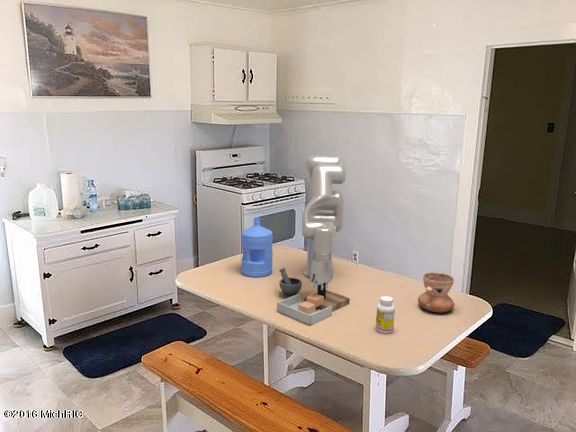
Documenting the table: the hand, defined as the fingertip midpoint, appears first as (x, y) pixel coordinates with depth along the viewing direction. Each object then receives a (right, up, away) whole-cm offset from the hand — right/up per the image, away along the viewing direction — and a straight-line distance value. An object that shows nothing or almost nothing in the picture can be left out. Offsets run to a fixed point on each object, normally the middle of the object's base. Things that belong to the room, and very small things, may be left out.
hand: (321, 297), depth 204 cm
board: (+2, -3, +3) cm, 5 cm away
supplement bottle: (+23, -9, -19) cm, 31 cm away
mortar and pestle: (-13, -1, +11) cm, 18 cm away
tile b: (-6, -5, -6) cm, 10 cm away
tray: (-7, -5, -6) cm, 11 cm away
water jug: (-30, +6, +40) cm, 50 cm away
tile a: (-3, -2, -3) cm, 4 cm away
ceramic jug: (+48, -5, +1) cm, 48 cm away
